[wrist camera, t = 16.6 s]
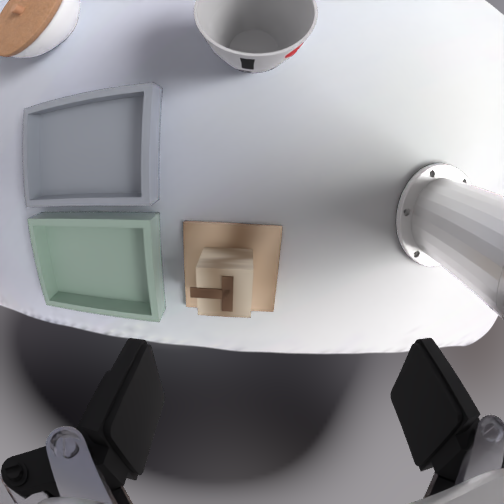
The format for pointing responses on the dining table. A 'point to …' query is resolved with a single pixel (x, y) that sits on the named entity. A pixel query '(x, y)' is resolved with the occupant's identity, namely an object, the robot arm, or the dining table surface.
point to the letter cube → (224, 282)
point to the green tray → (100, 262)
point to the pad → (236, 236)
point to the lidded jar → (36, 26)
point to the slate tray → (94, 148)
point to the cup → (255, 30)
